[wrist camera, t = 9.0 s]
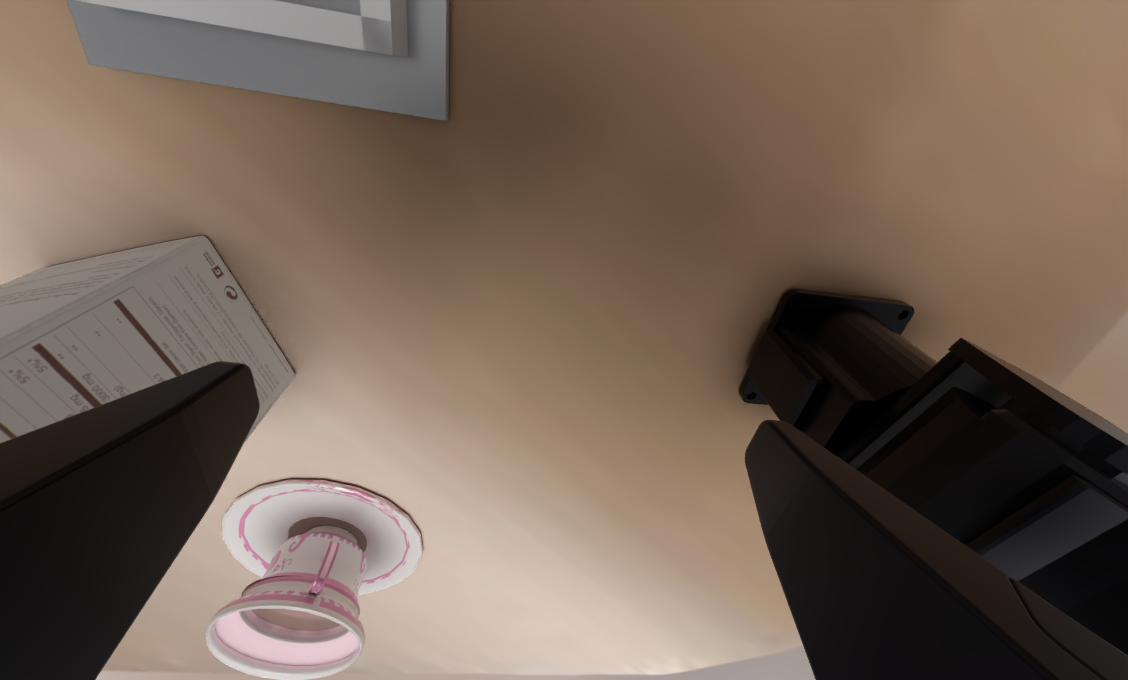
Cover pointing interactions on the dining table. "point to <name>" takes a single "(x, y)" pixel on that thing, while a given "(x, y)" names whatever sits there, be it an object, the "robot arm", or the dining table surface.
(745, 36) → the dining table surface
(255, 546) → the teacup
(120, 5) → the grey bracket base
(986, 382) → the robot arm
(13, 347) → the supplement box
